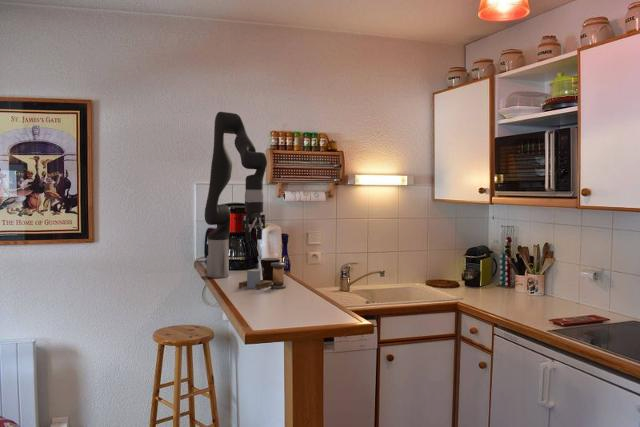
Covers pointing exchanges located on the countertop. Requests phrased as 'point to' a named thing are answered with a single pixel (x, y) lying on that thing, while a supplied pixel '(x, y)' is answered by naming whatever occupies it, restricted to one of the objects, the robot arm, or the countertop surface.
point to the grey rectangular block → (253, 278)
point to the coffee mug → (268, 268)
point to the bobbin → (278, 275)
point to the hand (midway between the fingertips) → (253, 240)
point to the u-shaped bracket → (258, 286)
